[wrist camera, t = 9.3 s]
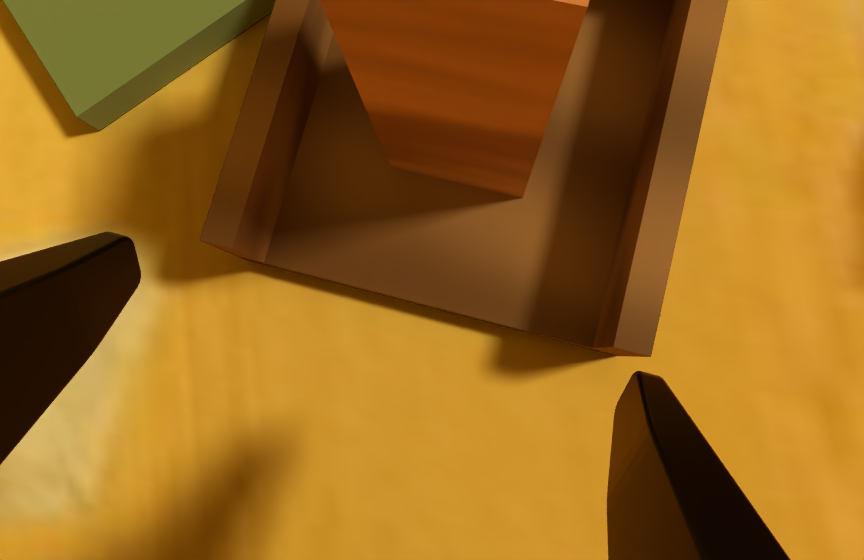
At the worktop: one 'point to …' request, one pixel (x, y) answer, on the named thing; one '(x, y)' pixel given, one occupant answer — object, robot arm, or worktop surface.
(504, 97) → the block
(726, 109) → the worktop surface
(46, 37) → the notebook
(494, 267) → the tray
